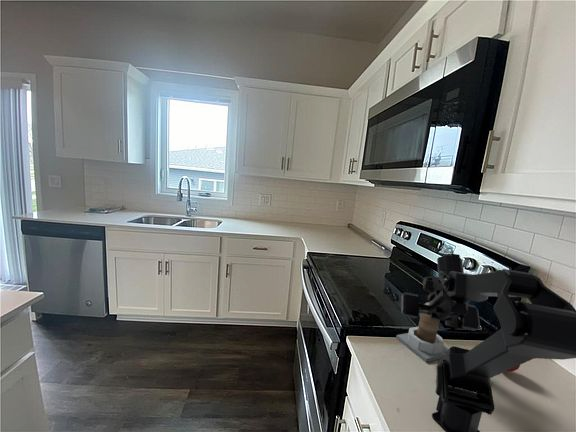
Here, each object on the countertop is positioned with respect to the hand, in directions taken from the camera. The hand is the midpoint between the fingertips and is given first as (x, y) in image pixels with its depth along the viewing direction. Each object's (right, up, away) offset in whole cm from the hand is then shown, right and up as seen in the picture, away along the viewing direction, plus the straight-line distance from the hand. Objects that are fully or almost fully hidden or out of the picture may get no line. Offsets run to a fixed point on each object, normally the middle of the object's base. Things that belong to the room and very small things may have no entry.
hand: (428, 319), depth 81 cm
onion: (+17, -12, -6) cm, 22 cm away
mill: (-1, -7, +1) cm, 7 cm away
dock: (-1, -8, +1) cm, 8 cm away
